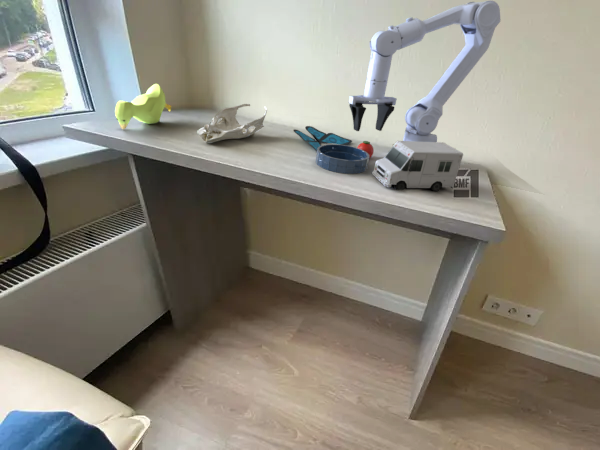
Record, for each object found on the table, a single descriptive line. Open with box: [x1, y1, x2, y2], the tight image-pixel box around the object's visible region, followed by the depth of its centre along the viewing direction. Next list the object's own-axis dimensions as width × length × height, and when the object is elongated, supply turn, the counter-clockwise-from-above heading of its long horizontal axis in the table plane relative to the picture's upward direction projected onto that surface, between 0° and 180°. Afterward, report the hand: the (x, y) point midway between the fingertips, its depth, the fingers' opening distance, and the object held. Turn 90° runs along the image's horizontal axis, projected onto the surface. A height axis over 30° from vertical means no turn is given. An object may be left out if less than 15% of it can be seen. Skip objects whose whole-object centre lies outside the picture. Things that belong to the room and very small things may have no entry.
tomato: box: [356, 140, 375, 159], centre depth 108 cm, size 5×5×5 cm
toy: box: [114, 83, 172, 130], centre depth 117 cm, size 6×17×20 cm
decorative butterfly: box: [293, 125, 353, 152], centre depth 117 cm, size 20×14×3 cm
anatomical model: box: [196, 103, 268, 144], centre depth 114 cm, size 15×9×25 cm
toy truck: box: [371, 140, 464, 192], centre depth 92 cm, size 13×20×10 cm, turn 90°
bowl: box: [315, 144, 370, 175], centre depth 101 cm, size 14×14×4 cm
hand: (367, 130), depth 107 cm, fingers open, 7 cm apart
